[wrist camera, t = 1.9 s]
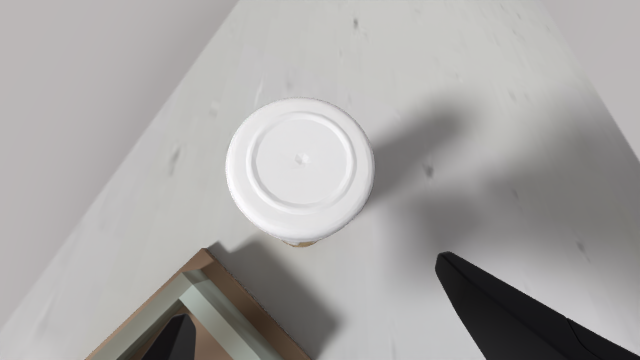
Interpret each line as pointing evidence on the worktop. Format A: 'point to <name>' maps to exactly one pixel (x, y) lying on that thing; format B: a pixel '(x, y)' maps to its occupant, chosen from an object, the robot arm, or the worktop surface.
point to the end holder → (203, 319)
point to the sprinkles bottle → (300, 169)
